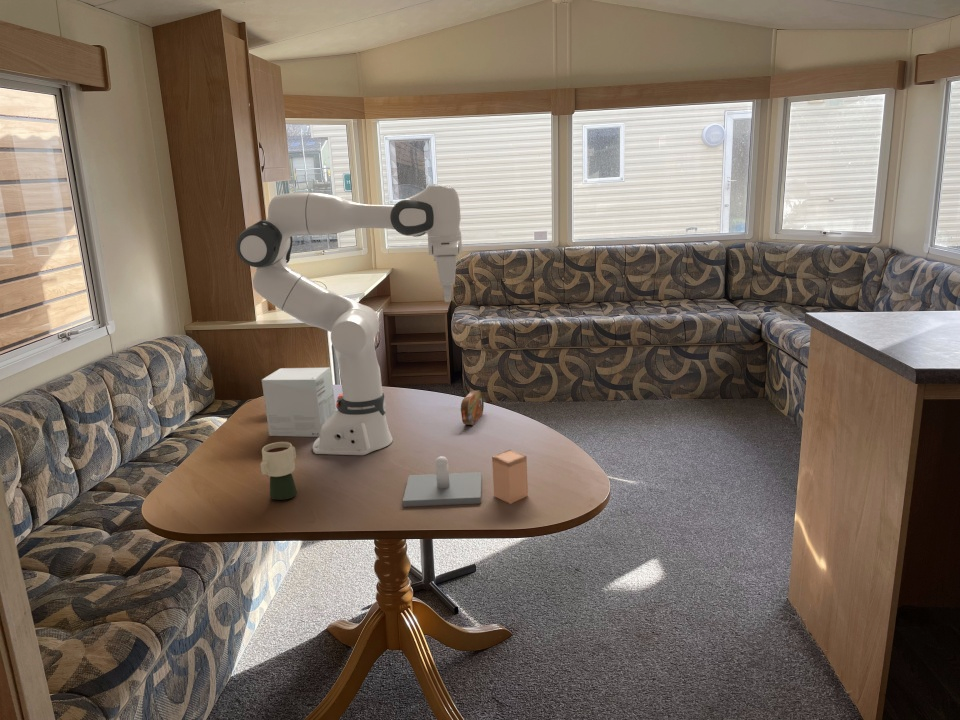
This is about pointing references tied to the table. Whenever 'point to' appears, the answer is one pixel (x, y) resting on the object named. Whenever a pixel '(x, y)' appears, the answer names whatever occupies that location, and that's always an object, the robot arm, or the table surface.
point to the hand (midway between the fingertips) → (447, 299)
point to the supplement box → (298, 401)
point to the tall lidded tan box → (510, 476)
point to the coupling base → (443, 496)
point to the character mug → (279, 469)
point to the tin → (472, 407)
